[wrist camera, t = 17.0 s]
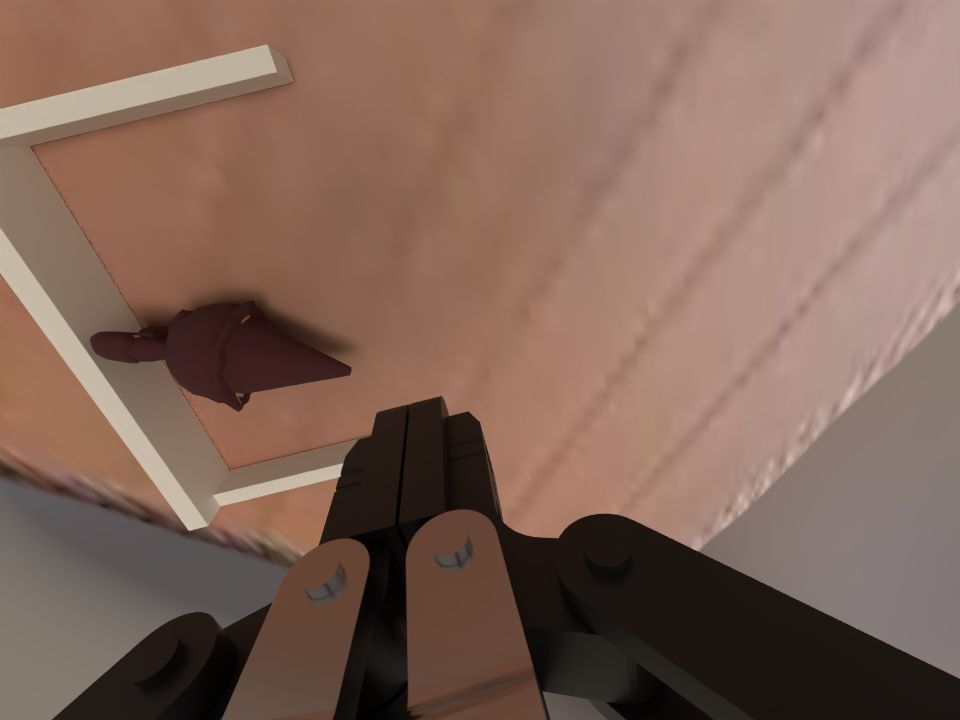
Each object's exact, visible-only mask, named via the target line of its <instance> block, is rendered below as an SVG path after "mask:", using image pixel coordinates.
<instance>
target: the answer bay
mask: <svg viewBox="0 0 960 720" xmlns="http://www.w3.org/2000/svg"><path fill="white" fill-rule="evenodd" d="M293 82H294V81H293V78H292V75H291V72H290V69H289V66H288V64H287V61H286V58H285V57H283V56H282V55H281V54H279V53H278V52H277V51H275V50H274V49H273V48H271V47H270V46H269V45H263V46H259V47H255V48H251V49H246V50H242V51H238V52H234V53H230V54H226V55H222V56H218V57H213V58H209V59H205V60H201V61H197V62H193V63H189V64H184V65H180V66H176V67H172V68H168V69H164V70H160V71H156V72H151V73H147V74H143V75H139V76H135V77H131V78H127V79H122V80H118V81H114V82H110V83H106V84H102V85H98V86H94V87H89V88H85V89H81V90H77V91H73V92H69V93H65V94H60V95H56V96H52V97H48V98H44V99H40V100H36V101H32V102H27V103H23V104H19V105H15V106H11V107H7V108H3V109H0V273H1V274H2V276H3V277H4V279H5V280H6V281H7V283H8V284H9V285H10V287H11V288H12V290H13V291H14V292H15V294H16V295H17V296H18V298H19V299H20V300H21V302H22V303H23V305H24V306H25V307H26V309H27V310H28V311H29V313H30V314H31V315H32V317H33V318H34V320H35V321H36V322H37V324H38V325H39V326H40V328H41V329H42V331H43V332H44V333H45V335H46V336H47V337H48V339H49V340H50V341H51V343H52V344H53V346H54V347H55V348H56V350H57V351H58V352H59V354H60V355H61V356H62V358H63V359H64V361H65V362H66V363H67V365H68V366H69V367H70V369H71V370H72V372H73V373H74V374H75V376H76V377H77V378H78V380H79V381H80V382H81V384H82V385H83V387H84V388H85V389H86V391H87V392H88V393H89V395H90V396H91V398H92V399H93V400H94V402H95V403H96V404H97V406H98V407H99V408H100V410H101V411H102V413H103V414H104V415H105V417H106V418H107V419H108V421H109V422H110V423H111V425H112V426H113V428H114V429H115V430H116V432H117V433H118V434H119V436H120V437H121V439H122V440H123V441H124V443H125V444H126V445H127V447H128V448H129V449H130V451H131V452H132V454H133V455H134V456H135V458H136V459H137V460H138V462H139V463H140V464H141V466H142V467H143V469H144V470H145V471H146V473H147V474H148V475H149V477H150V478H151V480H152V481H153V482H154V484H155V485H156V486H157V488H158V489H159V490H160V492H161V493H162V495H163V496H164V497H165V499H166V500H167V501H168V503H169V504H170V505H171V507H172V508H173V510H174V511H175V512H176V514H177V515H178V516H179V518H180V519H181V521H182V522H183V523H184V525H185V526H186V527H187V529H188V530H194V529H198V528H202V527H206V526H209V524H210V522H211V521H212V519H213V518H214V516H215V514H216V513H217V511H218V509H219V508H220V506H224V505H228V504H232V503H236V502H240V501H244V500H248V499H252V498H256V497H260V496H264V495H269V494H273V493H277V492H281V491H285V490H289V489H293V488H297V487H301V486H305V485H309V484H313V483H317V482H321V481H325V480H330V479H334V478H338V477H341V474H340V473H341V469H342V466H343V463H344V459H345V456H346V455H347V454H348V452H349V451H350V450H351V448H352V447H353V446H354V445H355V443H356V442H357V441H358V440H359V439H361V438H358V439H354V440H350V441H346V442H342V443H338V444H334V445H330V446H326V447H322V448H318V449H313V450H309V451H305V452H301V453H297V454H293V455H289V456H285V457H281V458H277V459H273V460H269V461H265V462H261V463H256V464H252V465H248V466H244V467H240V468H236V469H232V470H229V468H228V466H227V465H226V463H225V462H224V460H223V458H222V457H221V455H220V454H219V452H218V450H217V449H216V447H215V445H214V444H213V442H212V441H211V439H210V437H209V436H208V434H207V432H206V431H205V429H204V428H203V426H202V424H201V423H200V421H199V419H198V418H197V416H196V415H195V413H194V411H193V410H192V408H191V407H190V405H189V403H188V402H187V400H186V398H185V397H184V395H183V394H182V392H181V390H180V389H179V387H178V385H177V384H176V382H175V381H174V379H173V377H172V376H171V374H170V372H169V371H168V369H167V368H166V366H165V364H164V363H163V361H162V360H159V361H154V362H139V363H125V362H119V361H113V360H108V359H105V358H103V357H101V356H99V355H97V354H96V353H95V352H94V350H93V348H92V346H91V343H90V338H91V336H93V335H94V334H96V333H98V332H105V331H118V332H134V333H139V331H140V330H141V329H142V327H141V325H140V324H139V322H138V321H137V319H136V317H135V316H134V314H133V312H132V311H131V309H130V308H129V306H128V304H127V303H126V301H125V300H124V298H123V296H122V295H121V293H120V291H119V290H118V288H117V287H116V285H115V283H114V282H113V280H112V278H111V277H110V275H109V274H108V272H107V270H106V269H105V267H104V265H103V264H102V262H101V261H100V259H99V257H98V256H97V254H96V253H95V251H94V249H93V248H92V246H91V244H90V243H89V241H88V240H87V238H86V236H85V235H84V233H83V231H82V230H81V228H80V227H79V225H78V223H77V222H76V220H75V218H74V217H73V215H72V214H71V212H70V210H69V209H68V207H67V205H66V204H65V202H64V201H63V199H62V197H61V196H60V194H59V193H58V191H57V189H56V188H55V186H54V184H53V183H52V181H51V180H50V178H49V176H48V175H47V173H46V171H45V170H44V168H43V167H42V165H41V163H40V162H39V160H38V158H37V157H36V155H35V154H34V152H33V150H32V149H31V147H30V146H33V145H37V144H41V143H45V142H49V141H54V140H58V139H62V138H66V137H70V136H74V135H78V134H82V133H87V132H91V131H95V130H99V129H103V128H107V127H111V126H115V125H120V124H124V123H128V122H132V121H136V120H140V119H144V118H148V117H153V116H157V115H161V114H165V113H169V112H173V111H177V110H181V109H186V108H190V107H194V106H198V105H202V104H206V103H210V102H214V101H219V100H223V99H227V98H231V97H235V96H239V95H243V94H247V93H252V92H256V91H260V90H264V89H268V88H272V87H276V86H281V85H285V84H289V83H293ZM370 436H371V435H370ZM366 437H369V436H366ZM362 438H365V437H362Z"/></svg>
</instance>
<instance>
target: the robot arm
mask: <svg viewBox="0 0 960 720" xmlns="http://www.w3.org/2000/svg"><path fill="white" fill-rule="evenodd" d="M340 474H341V477H339V479H338V483H337V486H336V492H335V493H334V496H333V500H332V503H331V506H330V510H329V513H328V516H327V520H326V523H325V526H324V530H323V533H322V536H321V540H320V543H319V546H318V547H316V548H314V549H312V550H311V551H309V552H308V553H307V554H305V555H304V556H303V557H302V558H300V559H299V560H298V561H297V562H296V563H295V564H294V565H293V566H292V568H291V569H290V570H289V571H288V573H287V574H286V576H285V577H284V579H283V581H282V583H281V584H280V586H279V589H278V591H277V593H276V596H275V598H274V600H273V602H272V603H270V604H269V605H267V606H265V607H263V608H261V609H260V610H258V611H256V612H254V613H252V614H250V615H248V616H246V617H245V618H243V619H241V620H239V621H237V622H235V623H233V624H231V625H230V626H228V627H226V628H224V629H222V628H221V627H220V625H219V624H218V623H217V622H216V621H215V619H214V618H213V617H212V616H211V615H209V614H207V613H203V612H194V613H189V614H185V615H182V616H179V617H177V618H175V619H173V620H171V621H169V622H167V623H166V624H164V625H162V626H161V627H159V628H158V629H156V630H155V631H153V632H152V633H151V634H149V635H148V636H147V637H146V638H144V639H143V640H142V641H141V642H140V643H139V644H137V645H136V646H135V647H134V648H133V649H132V650H131V651H130V652H128V653H127V654H126V655H125V656H124V657H123V658H121V659H120V660H119V661H118V662H117V663H116V664H115V665H114V666H112V667H111V668H110V669H109V670H108V671H107V672H106V673H104V674H103V675H102V676H101V677H100V678H99V679H98V680H97V681H95V682H94V683H93V684H92V685H91V686H90V687H88V689H86V690H85V691H84V692H83V693H82V694H81V695H79V696H78V697H77V698H76V699H75V700H74V701H73V702H71V703H70V704H69V705H68V706H67V707H66V708H65V709H63V710H62V711H61V712H60V713H59V714H58V715H57V716H56V717H54V718H53V719H52V720H550V716H549V713H548V709H547V705H546V702H545V698H544V694H543V691H544V692H550V693H556V694H562V695H569V696H574V697H580V698H587V699H589V701H590V702H591V703H592V705H593V706H594V707H595V708H596V709H597V710H598V711H599V712H600V713H601V714H602V715H603V716H605V717H606V718H607V719H608V720H960V679H959V678H957V677H955V676H953V675H951V674H949V673H947V672H945V671H943V670H940V669H938V668H936V667H934V666H932V665H930V664H928V663H926V662H924V661H922V660H920V659H918V658H916V657H914V656H912V655H910V654H908V653H905V652H903V651H901V650H899V649H897V648H895V647H893V646H891V645H889V644H887V643H885V642H883V641H881V640H879V639H877V638H874V637H873V636H870V635H868V634H866V633H864V632H862V631H860V630H858V629H856V628H854V627H852V626H850V625H848V624H846V623H844V622H842V621H840V620H837V619H835V618H834V617H831V616H829V615H827V614H825V613H823V612H821V611H819V610H817V609H815V608H813V607H811V606H809V605H807V604H805V603H803V602H800V601H799V600H796V599H794V598H792V597H790V596H788V595H786V594H784V593H782V592H780V591H778V590H775V589H774V588H772V587H770V586H768V585H766V584H764V583H761V582H759V581H757V580H755V579H753V578H751V577H749V576H747V575H745V574H743V573H741V572H739V571H737V570H735V569H732V568H731V567H728V566H727V565H724V564H722V563H720V562H718V561H716V560H714V559H712V558H710V557H708V556H706V555H704V554H702V553H700V552H698V551H696V550H694V549H692V548H689V547H687V546H685V545H683V544H681V543H679V542H677V541H675V540H673V539H671V538H669V537H667V536H665V535H663V534H661V533H659V532H657V531H654V530H652V529H650V528H648V527H646V526H644V525H642V524H640V523H638V522H636V521H634V520H631V519H629V518H627V517H623V516H619V515H614V514H595V515H590V516H586V517H583V518H581V519H579V520H577V521H575V522H573V523H572V524H570V525H569V526H568V527H567V528H566V529H565V530H564V531H563V532H562V534H561V535H560V537H559V538H539V537H531V536H527V535H523V534H520V533H518V532H516V531H514V530H512V529H511V528H509V527H508V526H507V525H506V524H504V522H503V517H502V512H501V507H500V502H499V497H498V492H497V486H496V481H495V476H494V472H493V468H492V465H491V461H490V457H489V454H488V450H487V446H486V443H485V439H484V436H483V432H482V428H481V425H480V422H479V421H478V420H477V419H476V418H475V417H474V416H473V415H472V414H471V413H469V412H465V413H461V414H457V415H453V416H449V414H448V410H447V407H446V404H445V401H444V399H443V397H442V396H440V397H436V398H432V399H428V400H424V401H420V402H416V403H412V404H410V405H409V404H408V405H404V406H400V407H396V408H392V409H388V410H384V411H380V412H377V414H376V418H375V422H374V426H373V431H372V435H371V436H369V437H365V438H361V439H359V440H358V441H357V442H356V443H355V445H354V446H353V447H352V448H351V450H350V451H349V452H348V454H347V455H346V456H345V459H344V463H343V466H342V469H341V473H340Z"/></svg>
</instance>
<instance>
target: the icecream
mask: <svg viewBox="0 0 960 720" xmlns="http://www.w3.org/2000/svg"><path fill="white" fill-rule="evenodd" d="M90 343H91V346H92V348H93V350H94V352H95V353H96V354H97V355H99V356H101V357H103V358H105V359H108V360H113V361H119V362H125V363H139V362H154V361H159V360H164V359H165V361H166V364H167V366H168V368H169V370H170V372H171V373H172V375H173V376H174V378H175V379H176V380H177V382H178V383H179V385H181V386H182V387H184V388H185V389H186V390H188V391H189V392H191V393H192V394H195V395H199V396H202V397H206V398H209V399H211V400H213V401H215V402H218V403H225V404H227V405H228V406H230V407H232V408H233V409H235V410H236V411H238V412H239V411H240V410H242V409H243V405H245V404H246V403H247V402H248V401H249V399H250V394H251V393H252V392H258V391H263V390H269V389H275V388H280V387H286V386H292V385H297V384H303V383H309V382H314V381H320V380H326V379H332V378H338V377H343V376H348V375H350V374H351V367H349V366H347V365H346V364H344V363H342V362H340V361H338V360H336V359H334V358H332V357H330V356H328V355H326V354H324V353H322V352H320V351H318V350H316V349H314V348H312V347H310V346H308V345H306V344H304V343H302V342H300V341H298V340H296V339H294V338H292V337H290V336H288V335H286V334H284V333H282V332H280V331H278V330H276V329H274V328H272V327H270V326H268V323H267V319H266V317H265V315H264V314H263V313H262V312H261V311H260V310H259V309H258V308H257V306H256V304H255V302H254V301H250V302H249V301H248V302H246V303H245V304H243V305H236V304H212V305H209V306H205V307H202V308H199V309H197V310H196V311H194V312H192V311H188V310H181V311H180V312H179V313H178V314H177V315H176V316H175V317H174V318H173V319H172V320H171V321H170V323H169V326H168V328H157V327H149V328H144V329H141V330H140V331H139V333H134V332H118V331H105V332H98V333H96V334H94V335H93V336H91V338H90Z"/></svg>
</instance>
